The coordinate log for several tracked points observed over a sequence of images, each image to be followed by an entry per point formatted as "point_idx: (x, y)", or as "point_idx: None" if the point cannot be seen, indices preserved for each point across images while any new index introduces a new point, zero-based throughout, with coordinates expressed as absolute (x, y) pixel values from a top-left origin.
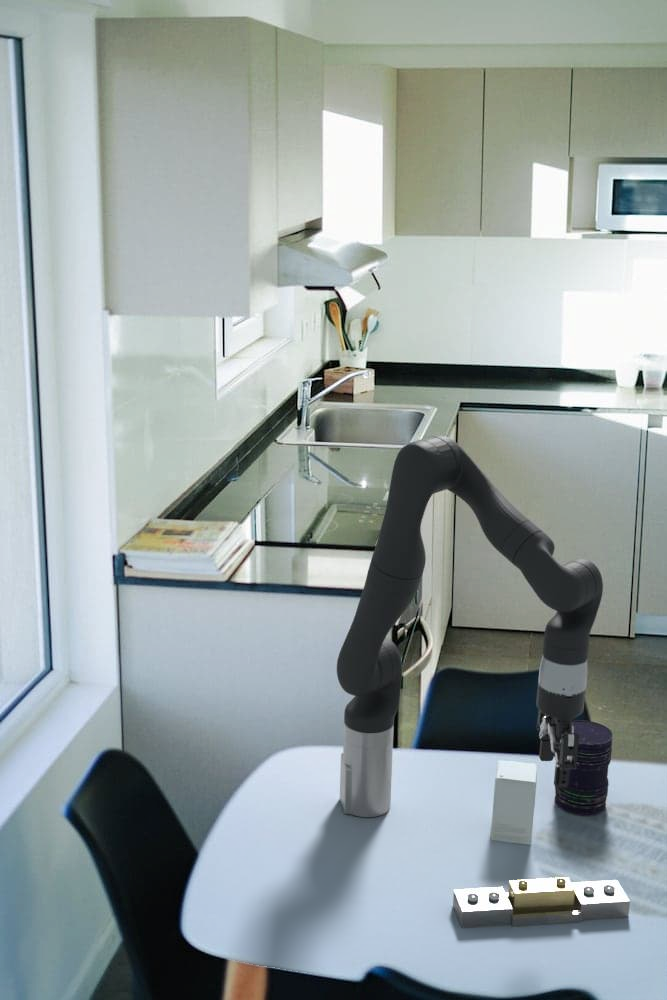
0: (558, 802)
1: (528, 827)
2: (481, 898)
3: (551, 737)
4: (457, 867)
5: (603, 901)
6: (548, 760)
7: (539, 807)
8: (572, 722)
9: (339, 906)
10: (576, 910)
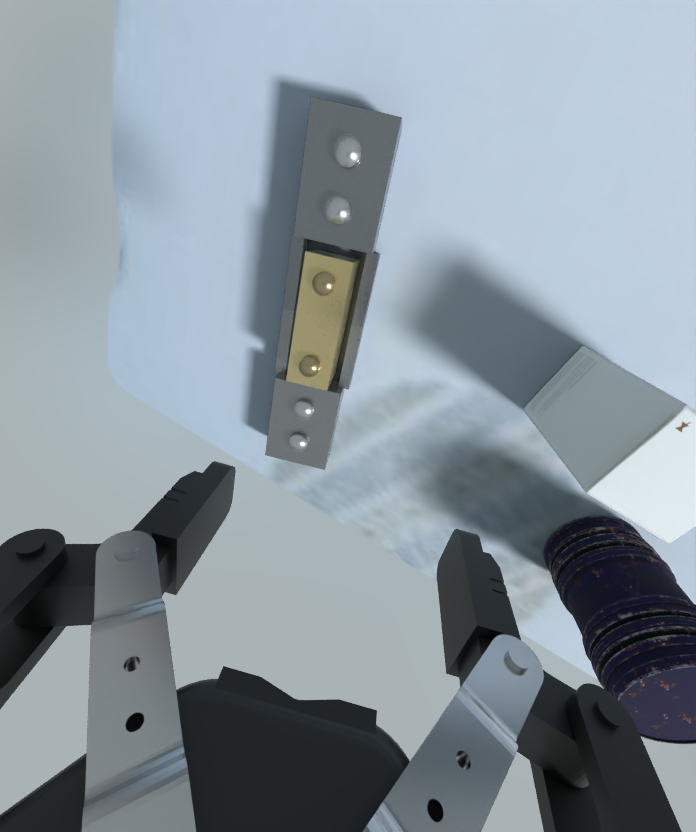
0: (610, 522)
1: (539, 420)
2: (347, 178)
3: (120, 741)
4: (531, 218)
5: (273, 416)
6: (443, 554)
7: None
8: None
9: None
10: None
